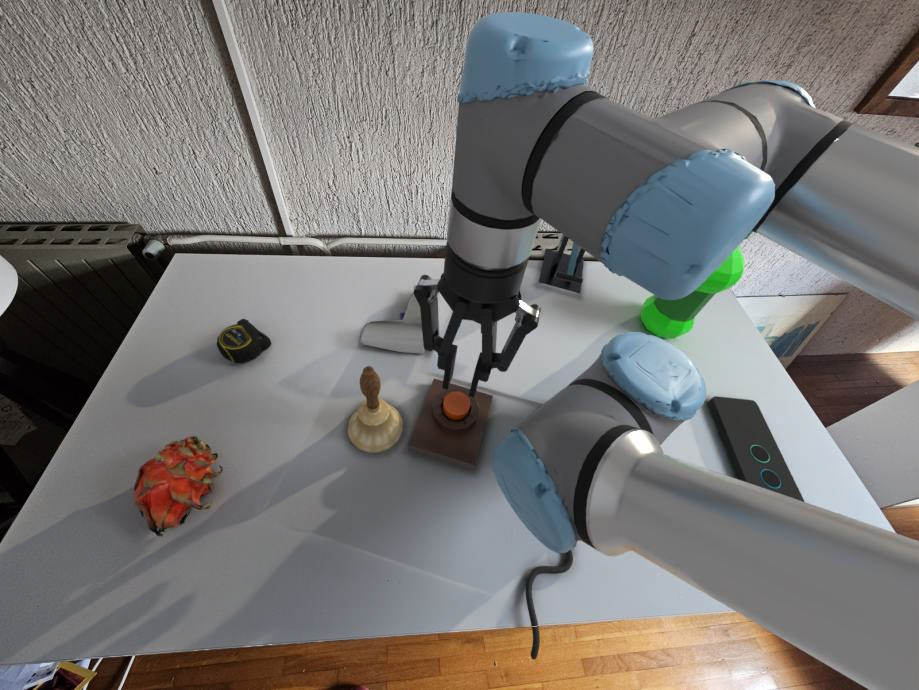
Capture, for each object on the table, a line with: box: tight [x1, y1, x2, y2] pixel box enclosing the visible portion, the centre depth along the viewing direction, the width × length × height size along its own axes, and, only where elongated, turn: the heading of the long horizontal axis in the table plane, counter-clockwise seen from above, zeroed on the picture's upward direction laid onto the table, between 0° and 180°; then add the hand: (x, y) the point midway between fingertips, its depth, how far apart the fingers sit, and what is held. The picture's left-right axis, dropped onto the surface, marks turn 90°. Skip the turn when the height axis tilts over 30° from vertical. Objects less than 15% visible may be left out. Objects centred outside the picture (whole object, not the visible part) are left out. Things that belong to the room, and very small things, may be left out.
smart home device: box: [707, 395, 805, 502], centre depth 61 cm, size 8×2×20 cm
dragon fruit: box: [133, 435, 224, 538], centre depth 47 cm, size 8×8×12 cm
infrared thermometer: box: [359, 284, 428, 355], centre depth 70 cm, size 5×12×15 cm
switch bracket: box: [538, 234, 586, 294], centre depth 79 cm, size 12×9×14 cm
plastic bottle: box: [639, 231, 754, 340], centre depth 68 cm, size 10×10×25 cm
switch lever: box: [555, 241, 584, 285], centre depth 73 cm, size 14×5×2 cm, turn 165°
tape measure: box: [216, 318, 272, 364], centre depth 63 cm, size 7×7×4 cm
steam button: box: [443, 392, 470, 421], centre depth 57 cm, size 4×4×2 cm
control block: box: [408, 378, 494, 471], centre depth 58 cm, size 12×10×4 cm
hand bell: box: [347, 365, 404, 454], centre depth 52 cm, size 8×8×16 cm
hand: (460, 384), depth 52 cm, fingers open, 3 cm apart
